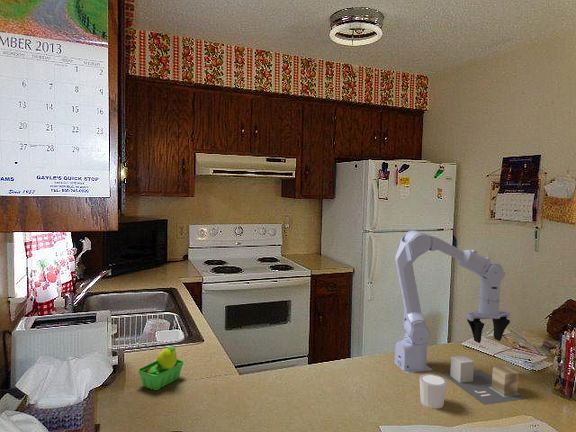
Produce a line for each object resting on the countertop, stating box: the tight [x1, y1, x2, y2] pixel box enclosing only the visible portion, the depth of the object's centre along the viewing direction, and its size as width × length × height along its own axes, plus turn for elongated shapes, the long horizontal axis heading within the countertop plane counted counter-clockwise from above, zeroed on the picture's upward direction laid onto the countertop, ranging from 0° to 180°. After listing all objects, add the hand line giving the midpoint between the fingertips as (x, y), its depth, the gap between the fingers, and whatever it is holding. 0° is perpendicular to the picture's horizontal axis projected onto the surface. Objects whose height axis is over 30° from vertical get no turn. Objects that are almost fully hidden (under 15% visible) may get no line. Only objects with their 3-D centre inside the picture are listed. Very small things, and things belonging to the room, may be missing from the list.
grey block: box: [449, 355, 475, 383], centre depth 118 cm, size 4×4×6 cm
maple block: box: [491, 365, 519, 396], centre depth 111 cm, size 4×4×6 cm
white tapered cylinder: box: [419, 373, 448, 410], centre depth 105 cm, size 7×7×7 cm
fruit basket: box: [137, 345, 185, 391], centre depth 114 cm, size 11×9×11 cm
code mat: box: [441, 368, 528, 406], centre depth 115 cm, size 14×18×1 cm
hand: (487, 340), depth 126 cm, fingers open, 7 cm apart
